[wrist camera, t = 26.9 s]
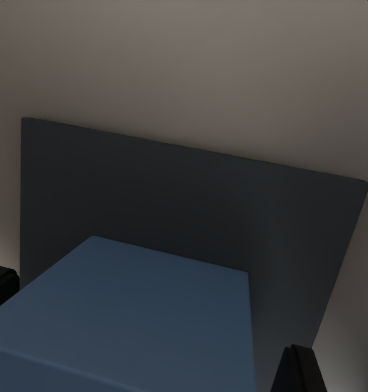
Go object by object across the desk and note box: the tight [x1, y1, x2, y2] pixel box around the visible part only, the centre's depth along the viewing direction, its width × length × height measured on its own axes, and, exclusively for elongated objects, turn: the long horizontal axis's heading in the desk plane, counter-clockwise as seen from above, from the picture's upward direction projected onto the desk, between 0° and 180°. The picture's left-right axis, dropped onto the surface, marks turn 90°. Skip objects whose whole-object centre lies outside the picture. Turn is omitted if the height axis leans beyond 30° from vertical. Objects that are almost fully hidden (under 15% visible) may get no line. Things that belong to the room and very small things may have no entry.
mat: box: [20, 117, 368, 392], centre depth 12 cm, size 20×12×1 cm, turn 170°
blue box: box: [0, 236, 257, 392], centre depth 9 cm, size 6×6×6 cm
